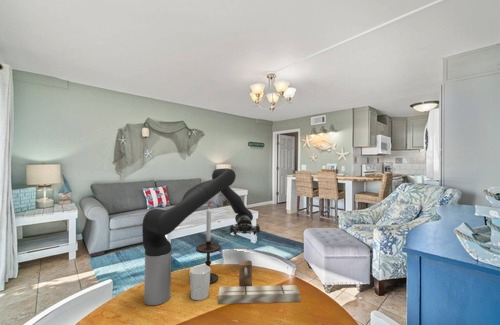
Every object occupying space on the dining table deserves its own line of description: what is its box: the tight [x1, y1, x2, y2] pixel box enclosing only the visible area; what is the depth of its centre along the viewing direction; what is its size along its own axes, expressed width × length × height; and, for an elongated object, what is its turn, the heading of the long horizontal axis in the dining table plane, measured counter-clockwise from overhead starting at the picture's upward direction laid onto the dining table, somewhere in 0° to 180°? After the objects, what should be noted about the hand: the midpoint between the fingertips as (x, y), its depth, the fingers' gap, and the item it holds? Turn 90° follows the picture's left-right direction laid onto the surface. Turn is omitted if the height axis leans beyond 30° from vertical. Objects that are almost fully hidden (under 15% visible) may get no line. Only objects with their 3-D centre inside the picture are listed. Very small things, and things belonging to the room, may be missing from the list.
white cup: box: [189, 264, 212, 301], centre depth 86 cm, size 8×8×10 cm
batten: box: [217, 284, 301, 305], centre depth 85 cm, size 30×6×3 cm, turn 93°
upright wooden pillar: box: [238, 260, 253, 286], centre depth 88 cm, size 5×9×11 cm, turn 3°
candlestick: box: [195, 199, 222, 285], centre depth 100 cm, size 11×11×35 cm
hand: (245, 232), depth 102 cm, fingers open, 8 cm apart
